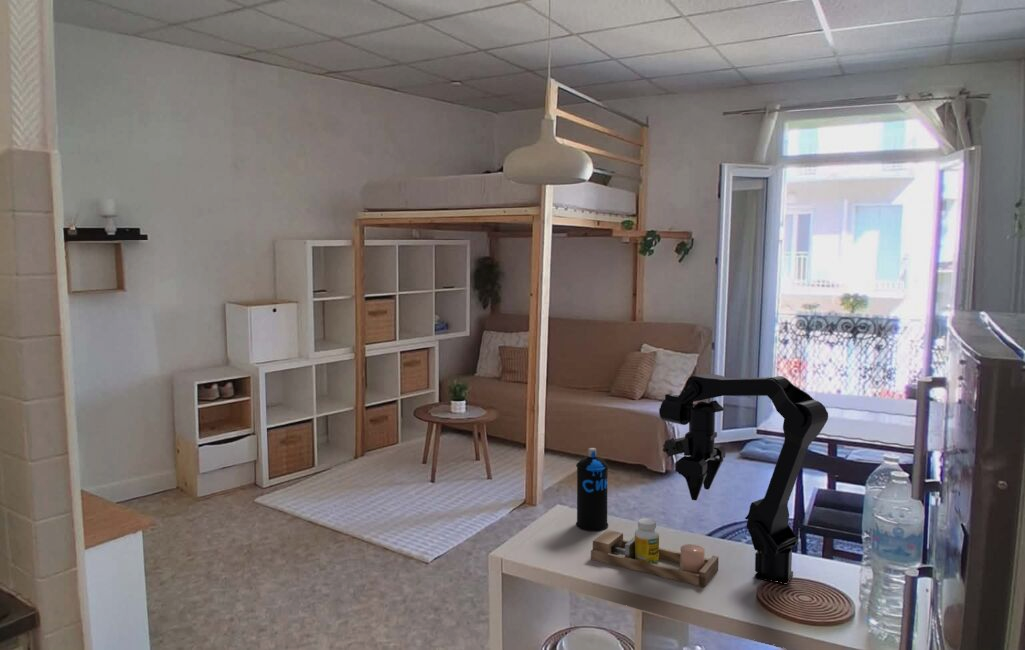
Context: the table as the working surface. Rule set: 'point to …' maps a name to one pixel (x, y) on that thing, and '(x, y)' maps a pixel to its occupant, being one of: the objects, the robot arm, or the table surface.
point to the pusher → (626, 549)
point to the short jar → (692, 558)
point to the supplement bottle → (647, 541)
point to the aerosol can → (592, 492)
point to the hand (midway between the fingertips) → (700, 494)
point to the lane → (614, 538)
